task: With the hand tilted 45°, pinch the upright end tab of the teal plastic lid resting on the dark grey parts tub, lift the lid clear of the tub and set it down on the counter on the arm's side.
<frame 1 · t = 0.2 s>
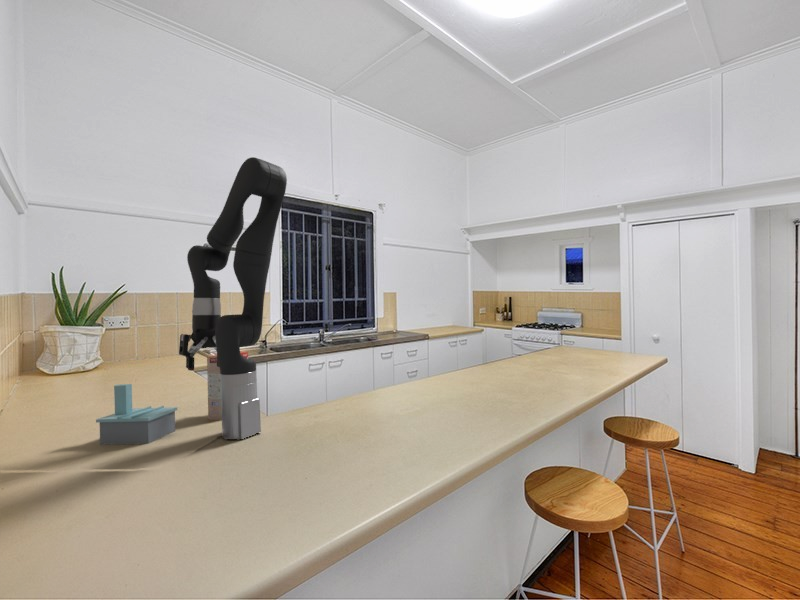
hand: (205, 368, 110), 18 cm above the counter, tool pointing down, fingers open, 8 cm apart
lid: (138, 415, 103), point 6 cm above the counter, touching tub
tub: (139, 439, 103), on the counter
cracker box: (230, 416, 124), on the counter
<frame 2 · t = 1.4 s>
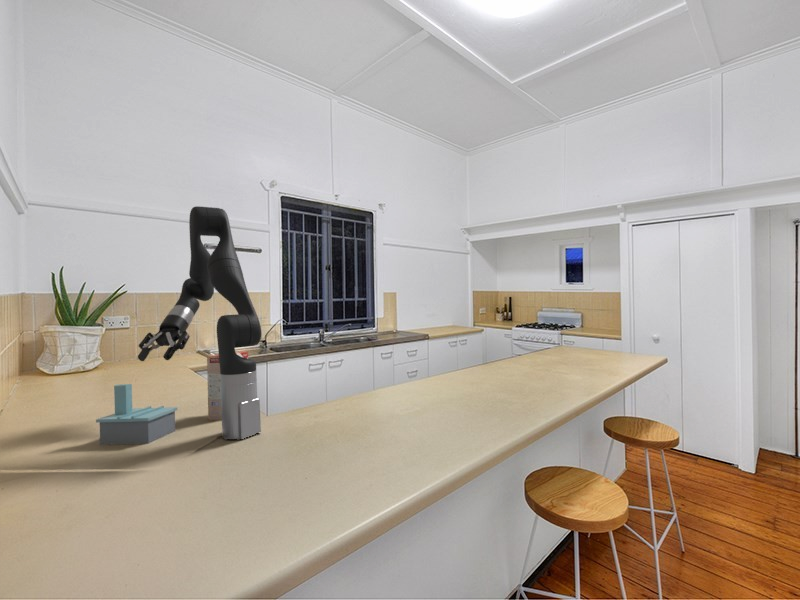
hand: (153, 359, 116), 21 cm above the counter, tool tilted 45°, fingers open, 8 cm apart
nothing on the counter moved.
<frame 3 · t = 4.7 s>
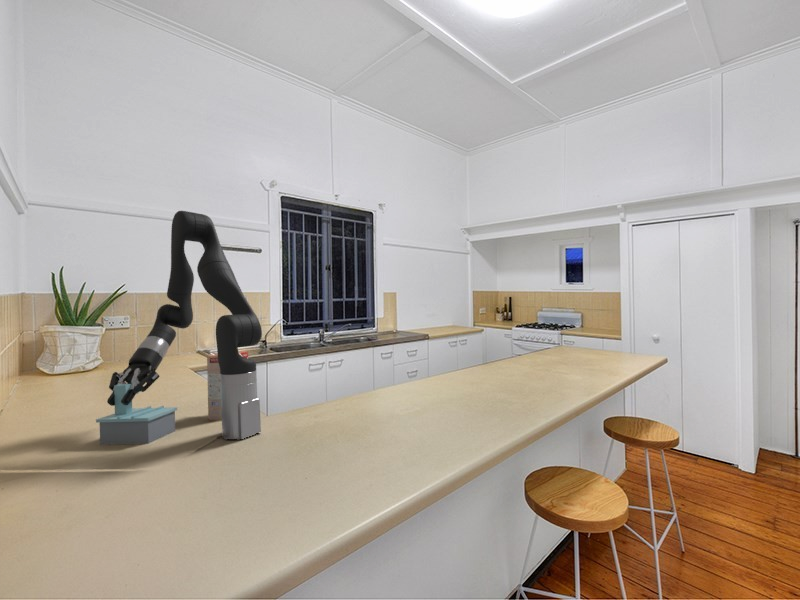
hand: (117, 403, 102), 11 cm above the counter, tool tilted 45°, fingers closed on lid, 3 cm apart
lid: (138, 415, 103), point 7 cm above the counter, touching gripper, tub
everything else where it was.
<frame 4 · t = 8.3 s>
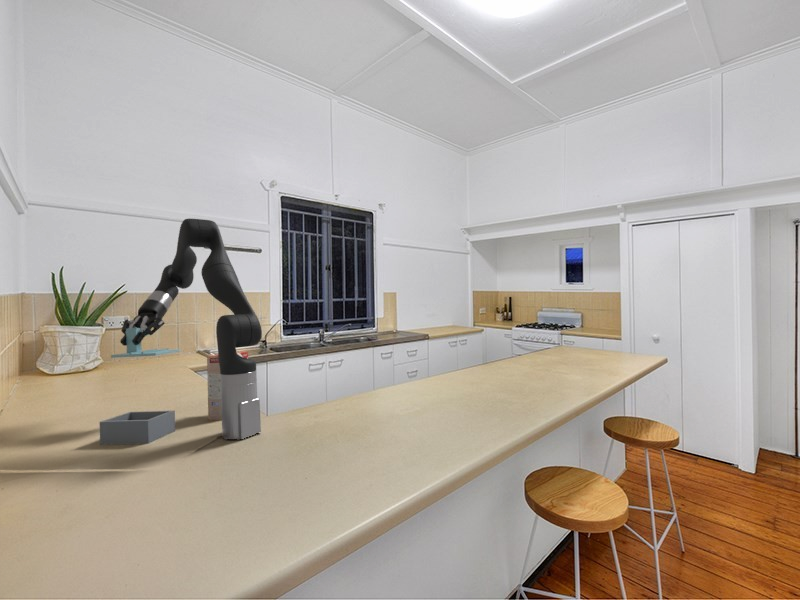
hand: (129, 343, 119), 26 cm above the counter, tool tilted 45°, fingers closed on lid, 3 cm apart
lid: (147, 354, 121), point 22 cm above the counter, touching gripper
everything else where it was.
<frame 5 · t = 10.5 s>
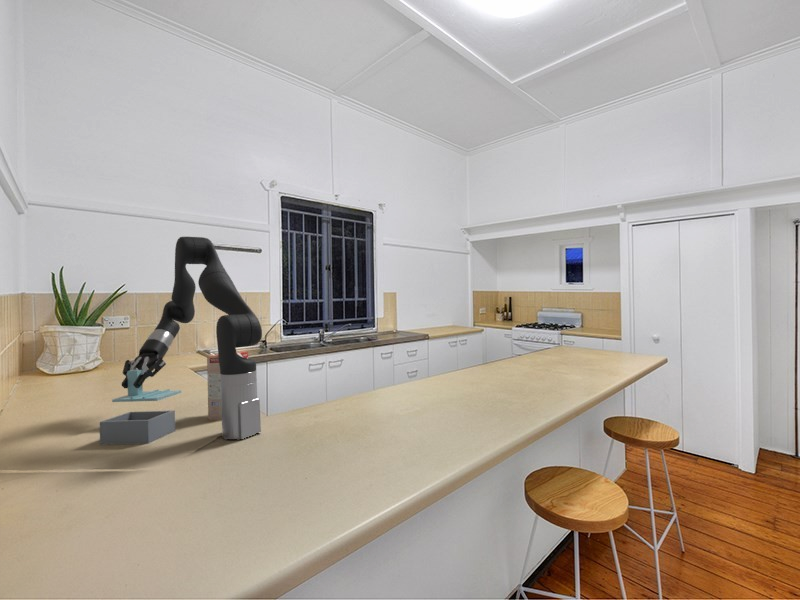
hand: (130, 386, 119), 12 cm above the counter, tool tilted 45°, fingers closed on lid, 3 cm apart
lid: (148, 397, 120), point 8 cm above the counter, touching gripper
everything else where it was.
when the fingers open (5 cm above the counter, at t = 12.3 s): lid drops 2 cm, on the counter.
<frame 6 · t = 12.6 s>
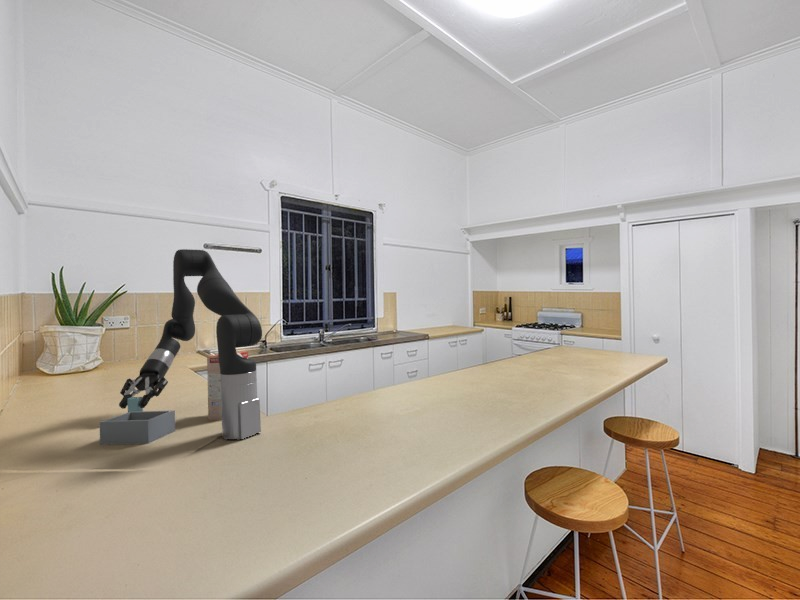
hand: (131, 406, 119), 6 cm above the counter, tool tilted 45°, fingers open, 6 cm apart
lid: (148, 424, 120), on the counter
everything else where it was.
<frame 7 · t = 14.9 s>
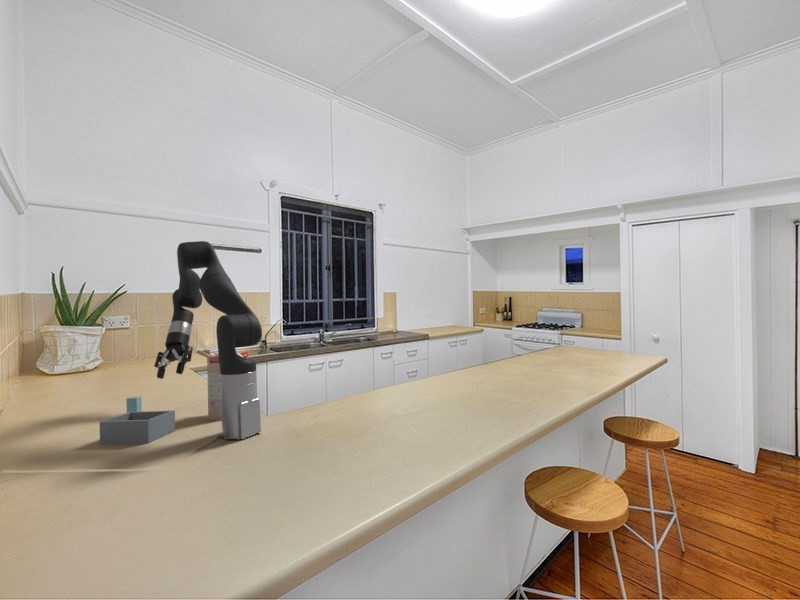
hand: (169, 375, 133), 13 cm above the counter, tool tilted 30°, fingers open, 8 cm apart
nothing on the counter moved.
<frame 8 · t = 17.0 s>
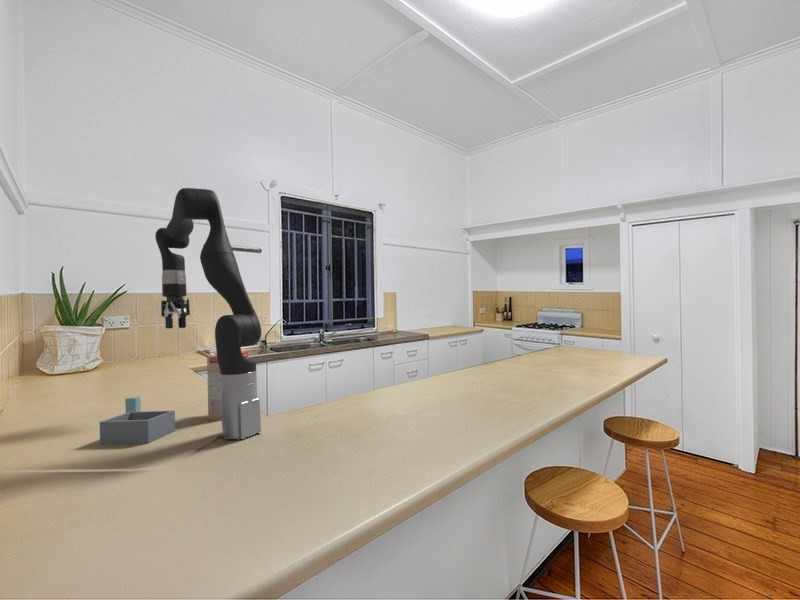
hand: (175, 328, 134), 30 cm above the counter, tool pointing down, fingers open, 8 cm apart
nothing on the counter moved.
at the end: lid touching counter; lid inside the target area (0.4 cm from its centre), on the counter; lid tilted 0° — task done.
